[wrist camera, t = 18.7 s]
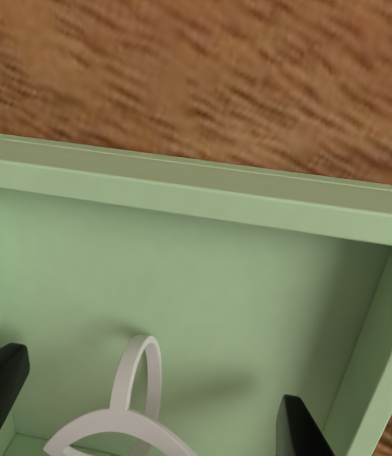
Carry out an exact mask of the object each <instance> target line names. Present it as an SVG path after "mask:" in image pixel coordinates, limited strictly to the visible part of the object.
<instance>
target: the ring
mask: <svg viewBox="0 0 392 456" xmlns="http://www.w3.org/2000/svg"><path fill="white" fill-rule="evenodd" d="M144 350H145V353H146V359H147V371H148V380H147V395H146V403H145V409H144V413H141V412H139V411H136V410H133V409H129V407H130V398H131V392H132V386H133V381H134V377H135V373H136V369H137V366H138V363H139V360H140V357H141V355H142V353H143V351H144ZM161 392H162V358H161V351H160V347H159V343H158V341H157V339H156V338H155V337H154V336H149V335H136V336H134V337H133V338H132V339H131V340H130V341H129V342H128V344H127V346H126V347H125V349H124V351H123V353H122V356H121V358H120V361H119V364H118V367H117V370H116V374H115V378H114V382H113V387H112V392H111V398H110V405H109V407H106V408H100V409H96V410H92V411H89V412H87V413H84V414H82V415H80V416H78V417H76V418H74V419H72V420H71V421H69V422H67V423H66V424H64V425H63V426H62V427H60V428H59V429H58V430H57V431H56V432H55V433H54V434H53V435H52V436H51V437H50V438H49V439H48V441H47V442H46V444H45V446H44V447H43V450H44V451H45V452H46V453H48V454H49V455H51V456H94V455H90V454H87V453H84V452H81V451H78V450H76V449H74V448H72V447H70V446H69V445H71V444H72V443H74V442H75V441H77V440H79V439H81V438H83V437H86V436H88V435H92V434H95V433H101V432H119V433H124V434H128V435H132V436H135V437H137V440H136V443H135V445H134V447H133V449H132V451H131V453H130V454H129V456H148V455H149V452H150V449H151V446H152V445H153V446H154V447H156V448H157V449H159V450H160V451H162V452H163V453H164V454H166V455H167V456H198V455H197V454H196V453H195V452H194V451H193V450H192V449H191V448H190V447H189V446H188V445H187V444H186V443H185V442H184V441H183V440H181V439H180V438H179V437H178V436H177V435H176V434H174V433H173V432H172V431H171V430H169V429H168V428H167V427H166V426H164V425H163V424H161V423H160V422H158V416H159V410H160V402H161Z"/></svg>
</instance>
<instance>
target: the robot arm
mask: <svg viewBox="0 0 392 456" xmlns="http://www.w3.org/2000/svg"><path fill="white" fill-rule="evenodd" d="M29 371H30V362H29V355H28V348H27V346H26V345H24V344H19V343H14V342H12V343H9V344H7V345H5V346H3V347H1V348H0V430H1V428H2V426H3V424H4V422H5V420H6V418H7V416H8V414H9V412H10V410H11V408H12V406H13V404H14V402H15V401H16V399H17V397H18V395H19V393H20V391H21V389H22V387H23V385H24V383H25V381H26V379H27V377H28V375H29ZM276 456H335V454H334V453H333V451H332V449H331V447H330V446H329V444H328V442H327V441H326V439H325V437H324V436H323V434H322V432H321V431H320V429H319V427H318V426H317V424H316V422H315V421H314V419H313V417H312V416H311V414H310V412H309V411H308V409H307V407H306V406H305V404H304V402H303V401H302V399H301V398H300V397H298V396H294V395H289V394H284V395H283V397H282V400H281V403H280V407H279V410H278V414H277V419H276Z"/></svg>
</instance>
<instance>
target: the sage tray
mask: <svg viewBox="0 0 392 456" xmlns="http://www.w3.org/2000/svg"><path fill="white" fill-rule="evenodd" d="M136 335H149V336H154V337H155V338H156V339H157V341H158V343H159V347H160V351H161V358H162V392H161V402H160V410H159V416H158V422H160V423H161V424H163V425H164V426H166V427H167V428H168V429H169V430H171V431H172V432H173V433H174V434H176V435H177V436H178V437H179V438H180V439H181V440H183V441H184V442H185V443H186V444H187V445H188V446H189V447H190V448H191V449H192V450H193V451H194V452H195V453H196V454H197V455H198V456H276V419H277V414H278V410H279V407H280V403H281V400H282V397H283V395H284V394H289V395H294V396H298V397H300V398H301V399H302V401H303V402H304V404H305V406H306V407H307V409H308V411H309V412H310V414H311V416H312V417H313V419H314V421H315V422H316V424H317V426H318V427H319V429H320V431H321V432H322V434H323V436H324V437H325V439H326V441H327V442H328V444H329V446H330V447H331V449H332V451H333V453H334V454H335V456H371V455H372V453H373V451H374V449H375V447H376V445H377V443H378V441H379V439H380V437H381V435H382V433H383V431H384V429H385V427H386V425H387V423H388V420H389V418H390V416H391V414H392V185H388V184H381V183H373V182H365V181H358V180H350V179H342V178H335V177H327V176H320V175H312V174H304V173H297V172H289V171H281V170H274V169H266V168H259V167H251V166H243V165H236V164H228V163H220V162H213V161H205V160H198V159H190V158H182V157H175V156H167V155H159V154H152V153H144V152H136V151H129V150H121V149H114V148H106V147H98V146H91V145H83V144H75V143H68V142H60V141H53V140H45V139H37V138H30V137H22V136H14V135H7V134H0V348H1V347H3V346H5V345H7V344H9V343H12V342H14V343H19V344H24V345H26V346H27V348H28V355H29V362H30V371H29V375H28V377H27V379H26V381H25V383H24V385H23V387H22V389H21V391H20V393H19V395H18V397H17V399H16V401H15V402H14V404H13V406H12V408H11V410H10V412H9V414H8V416H7V418H6V420H5V422H4V424H3V426H2V428H1V430H0V456H51V455H49V454H48V453H46V452H45V451H44V450H43V447H44V446H45V444H46V442H47V441H48V439H49V438H50V437H51V436H52V435H53V434H54V433H55V432H56V431H57V430H58V429H59V428H60V427H62V426H63V425H64V424H66V423H67V422H69V421H71V420H72V419H74V418H76V417H78V416H80V415H82V414H84V413H87V412H89V411H92V410H96V409H100V408H106V407H109V405H110V398H111V392H112V387H113V382H114V378H115V374H116V370H117V367H118V364H119V361H120V358H121V356H122V353H123V351H124V349H125V347H126V346H127V344H128V342H129V341H130V340H131V339H132V338H133V337H134V336H136ZM147 380H148V371H147V359H146V353H145V350H144V351H143V353H142V355H141V357H140V360H139V363H138V366H137V369H136V373H135V377H134V381H133V386H132V392H131V398H130V407H129V409H133V410H136V411H139V412H141V413H144V409H145V403H146V395H147ZM136 440H137V437H135V436H132V435H128V434H124V433H119V432H101V433H95V434H92V435H88V436H86V437H83V438H81V439H79V440H77V441H75V442H74V443H72V444H71V445H69V446H70V447H72V448H74V449H76V450H78V451H81V452H84V453H87V454H90V455H94V456H129V454H130V453H131V451H132V449H133V447H134V445H135V443H136ZM148 456H167V455H166V454H164V453H163V452H162V451H160V450H159V449H157V448H156V447H154V446H153V445H152V446H151V449H150V452H149V455H148Z"/></svg>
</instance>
